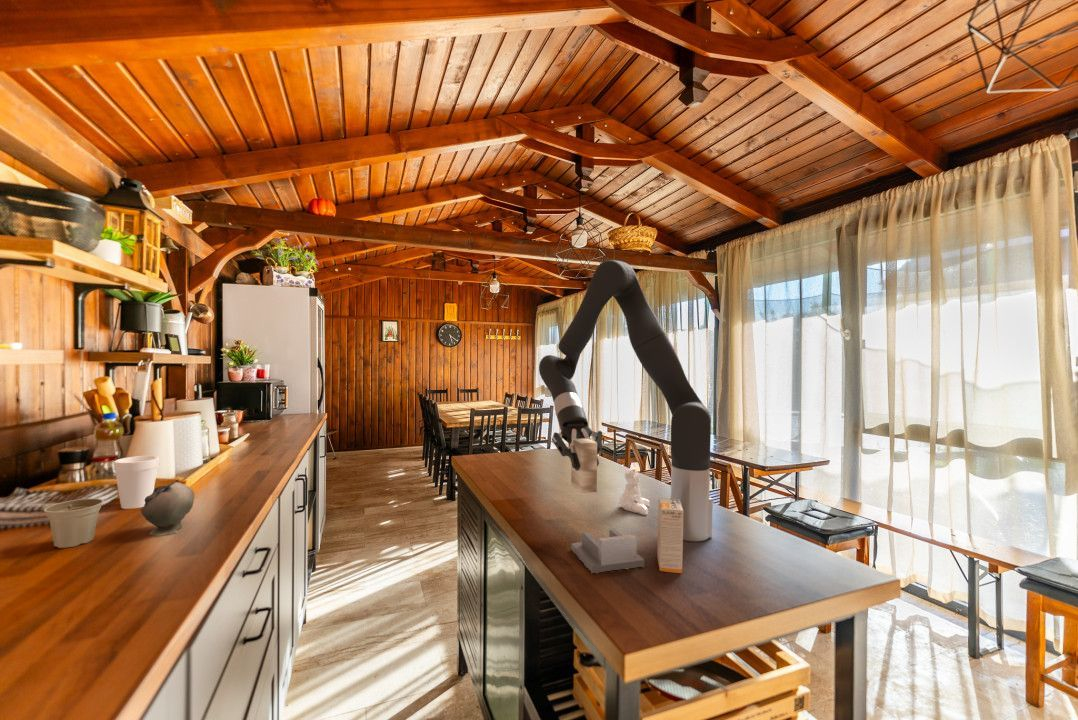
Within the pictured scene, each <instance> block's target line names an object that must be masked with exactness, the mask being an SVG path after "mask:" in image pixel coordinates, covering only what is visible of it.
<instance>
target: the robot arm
mask: <svg viewBox="0 0 1078 720" xmlns="http://www.w3.org/2000/svg"><path fill="white" fill-rule="evenodd" d="M633 268H634V267H632V266H631V265H630V264H629V263H628V262H624V261H622V260H616V259H608V260H603V261H602V262H601V263H600V264H599V265H598V266H597V267H596V269H595V271H594V273H593V274H592V277H591V279H590V281H589V285H588V287H587V289H586V292H585V294H584V297H583V299H582V301H581V303H580V305H579V308H578V309H577V311H576V313H575V316H574V317H573V319H572V320H571V322H570V323H569V326H568V327H567V329H566V331H565V332H564V334H563V335H562V337H561V338H560V341H559V342H558V344H557V347H558V350H559V351H560V353H562V354H563V355H565V357H564V358H562V357H559V356H556V355H552V354H549V355H545V356H543V357H542V358H541V359H540V362H539V364H538V365H539V366H538V371H539V372H538V373H539V375H540V378H541V379H542V381H543V383H544V384H545V386H546V388H547V389H548V391H550V393H551V397H552V402H553V405H554V411H555V416H556V419H557V423H558V426H559V429H560V432H557V431H556V432H554V433H553V434H552V438H551V441H552V442H553V444H554V446H555V448H556V449H557V450H558V452H559V454H560V455H561V456H562V457H568V458H569V461H570V462H571V463H572V467H573V468H575V470H576V471H577V470H579V468H580V463H579V459H578V456H577V453H575V452H576V449H575V442H574V439H581V438H585V439H590V440H593V441H594V442H597V456H598V455H599V454H600V452H601V450H602V449H603V431H601V430H597V431H594V430H592V429H591V427H590V426H589V423H588V419H587V415H586V412H585V410H584V407H583V403H582V402H581V399H580V397H579V395H578V392H577V389H576V386H575V383H574V382H573V381H572V379H573V377H574V375H575V372H576V370H577V366H578V362H579V359H580V356H581V355H582V352H583V351H584V349H585V348H586V346H587V345H588V343H589V342H590V340H591V338H592V336H593V334H594V333H595V330H596V329H595V328H596V326H597V321H598V319H599V316H600V314H601V312H602V311H603V309H604V307H605V306H606V304H608V302H609V301H610V300H611V298H612V297H613V298H614V299H615V301H616V303H617V304H618V306H619V308H620V309H621V311H622V313H623V316H624V319H625V322H626V329H627V334H628V338H629V342H630V345H631V347H632V350H633V352H634V353H635V355H636V357H637V359H638V360H639V362H640V364H641V365H642V367H643V369H644V370H645V372H646V373H647V375H648V376H649V377H650V378H651V380H652V381H653V382H654V383H655V385H656V386H657V388H658V389H659V390H660V392H661V393H662V396H663V397H664V399H665V402H666V403H667V406H668V408H669V410H670V413H671V421H670V458H671V459H670V460H671V463H670V464H671V465H670V466H671V467H670V499H679V500H680V502H681V505H682V508H683V511H684V512H683V541H687V542H703V541H706V540H708V539H709V538H712V537H713V516H714V515H713V514H714V513H713V509H714V508H713V507H714V504H713V503H714V500H713V498H712V497H710V492H711V491H710V490H711V489H710V486H711V485H710V483H711V482H710V479H711V478H710V477H711V475H710V474H711V473H710V472H711V434H712V431H711V430H712V428H711V427H712V418H711V417H712V416H711V414H710V411H709V409H708V408H707V407H706V406H705V405H704V403H703V401H701V399H700V398H699V396H698V395H697V393H696V391H695V390H694V389H693V387H692V386H691V384H690V381H689V380H688V377H687V375H686V374H685V371H684V369H683V366H682V364H681V361H680V359H679V356H678V355H677V353H676V350H675V348H674V346H673V344H672V343H671V340H670V339H669V337H668V335H667V334H666V333H667V332H666V331H665V330H664V328H663V326H662V325H661V322H660V321H659V319H658V318H657V316H656V314H655V312H654V311H653V309H652V308H651V306H650V304H649V302H648V301H647V299H646V297H645V294H644V292H643V289H642V286H641V285H640V282H639V279H638V277H637V274H636V272H635V270H634V269H633ZM591 437H592V439H591ZM564 441H566V442H567V445H568V446H567V445H566V443H565V442H564ZM571 463H570V464H571ZM599 465H600V461H599V459H598V457H597V467H598V466H599Z"/></svg>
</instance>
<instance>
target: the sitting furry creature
mask: <svg viewBox="0 0 1078 720" xmlns="http://www.w3.org/2000/svg"><path fill="white" fill-rule="evenodd" d="M624 478H625V480H626V482H627V484H626V485H625V487H624V490H623V493H622V494H621V495H620V497H619V505H620V507H621V508H623V510H625V511H628V512H632V513H636V514H639V515H643V516H646V515H648V514H649V508H648V507H650V500H649V499H647V498H645V497H642V495H641V489H640V485H639V484H640V482H641V480H640V474H639V473H637V471H636V468H635V467H631V468H627V470H625V472H624Z"/></svg>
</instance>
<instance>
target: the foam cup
mask: <svg viewBox="0 0 1078 720" xmlns="http://www.w3.org/2000/svg"><path fill="white" fill-rule="evenodd" d="M113 462H114V463H113V470H114V471H115V477H116V483H117V485H116V486H117V489H118V497H119V502H120V503H119V504H120V508H121V509H125V510H131V509H132V510H133V509H141V508H143V507H144V505H145V498H146V497H147V496H149V495H151V494H152V493H153V491H154V490H155V485H156V479H157V475H158V474H157V473H158V467H159V465H160V456H158V455H137V456H129V457H121V458H119V459H116V460H115V461H113Z"/></svg>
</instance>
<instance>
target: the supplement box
mask: <svg viewBox="0 0 1078 720" xmlns="http://www.w3.org/2000/svg"><path fill="white" fill-rule="evenodd" d="M657 506H658V507H657V509H658V511H657V513H658V515H657V522H658V523H657V548H656V549H657V555H656V556H657V563H658V568H659V569H658V570H659V571H660V572H664V573H665V572H666V573H674V574H682V573H683V552H684V551H683V549H684V548H683V547H684V540H683V512H684V511H683V508H682V505H681V502H680V500H679V499H671V498H665V497H659V498H658V505H657Z"/></svg>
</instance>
